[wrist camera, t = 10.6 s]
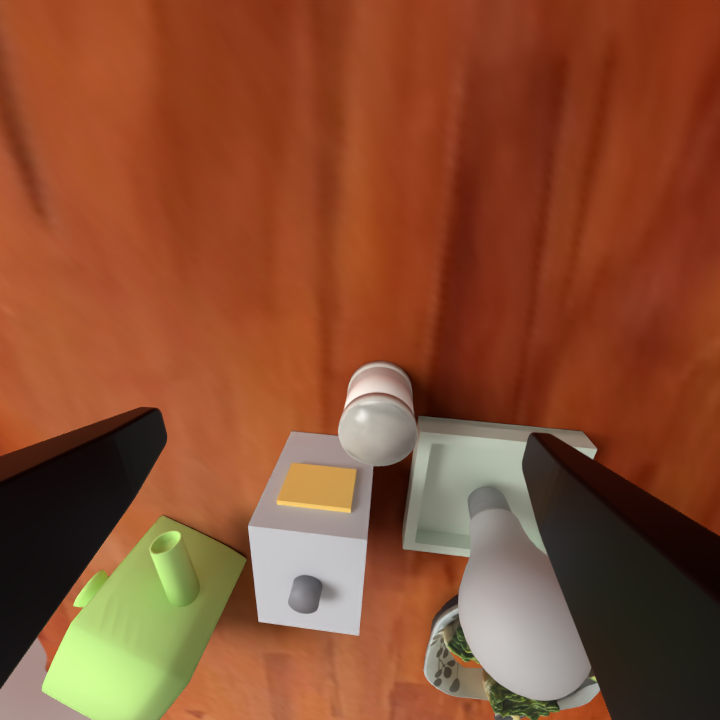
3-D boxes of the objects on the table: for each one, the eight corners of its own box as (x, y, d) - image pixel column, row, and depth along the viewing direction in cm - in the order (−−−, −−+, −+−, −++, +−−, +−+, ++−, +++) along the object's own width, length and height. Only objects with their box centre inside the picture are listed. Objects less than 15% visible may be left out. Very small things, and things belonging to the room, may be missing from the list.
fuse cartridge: (413, 361, 22) (419, 401, 17) (410, 417, 23) (414, 468, 19) (348, 359, 22) (337, 398, 17) (349, 415, 24) (339, 464, 19)
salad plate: (572, 714, 37) (595, 780, 32) (405, 684, 37) (407, 744, 33) (660, 603, 29) (706, 672, 24) (446, 566, 29) (454, 627, 25)
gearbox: (165, 465, 28) (55, 576, 19) (271, 525, 29) (213, 656, 20) (107, 582, 35) (6, 704, 26) (195, 628, 36) (126, 760, 27)
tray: (582, 431, 22) (597, 449, 21) (539, 544, 27) (548, 566, 25) (418, 415, 23) (420, 431, 21) (402, 528, 27) (402, 548, 26)
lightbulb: (520, 524, 25) (603, 734, 15) (436, 520, 26) (464, 720, 16) (536, 459, 23) (648, 661, 13) (442, 456, 23) (480, 647, 13)
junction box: (375, 436, 24) (366, 554, 16) (368, 524, 28) (356, 658, 19) (291, 427, 24) (239, 538, 16) (294, 515, 28) (252, 644, 20)
